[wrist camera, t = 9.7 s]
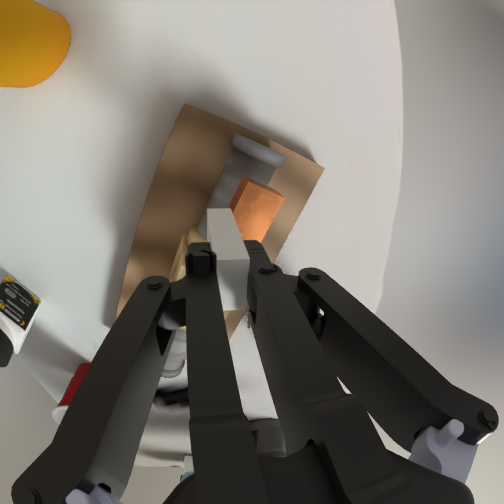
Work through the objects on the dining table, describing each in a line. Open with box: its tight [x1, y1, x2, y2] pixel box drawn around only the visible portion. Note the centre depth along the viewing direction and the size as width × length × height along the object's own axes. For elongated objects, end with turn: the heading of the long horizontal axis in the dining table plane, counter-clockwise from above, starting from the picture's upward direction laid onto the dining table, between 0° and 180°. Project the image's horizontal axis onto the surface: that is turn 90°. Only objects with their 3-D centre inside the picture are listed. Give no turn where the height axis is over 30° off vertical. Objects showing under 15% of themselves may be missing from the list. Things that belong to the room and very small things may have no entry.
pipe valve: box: [115, 104, 325, 378], centre depth 29 cm, size 32×16×9 cm, turn 154°
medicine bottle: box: [0, 275, 41, 367], centre depth 25 cm, size 7×7×12 cm
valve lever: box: [228, 176, 285, 243], centre depth 22 cm, size 14×3×2 cm, turn 153°
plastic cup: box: [52, 363, 90, 425], centre depth 34 cm, size 11×11×12 cm
